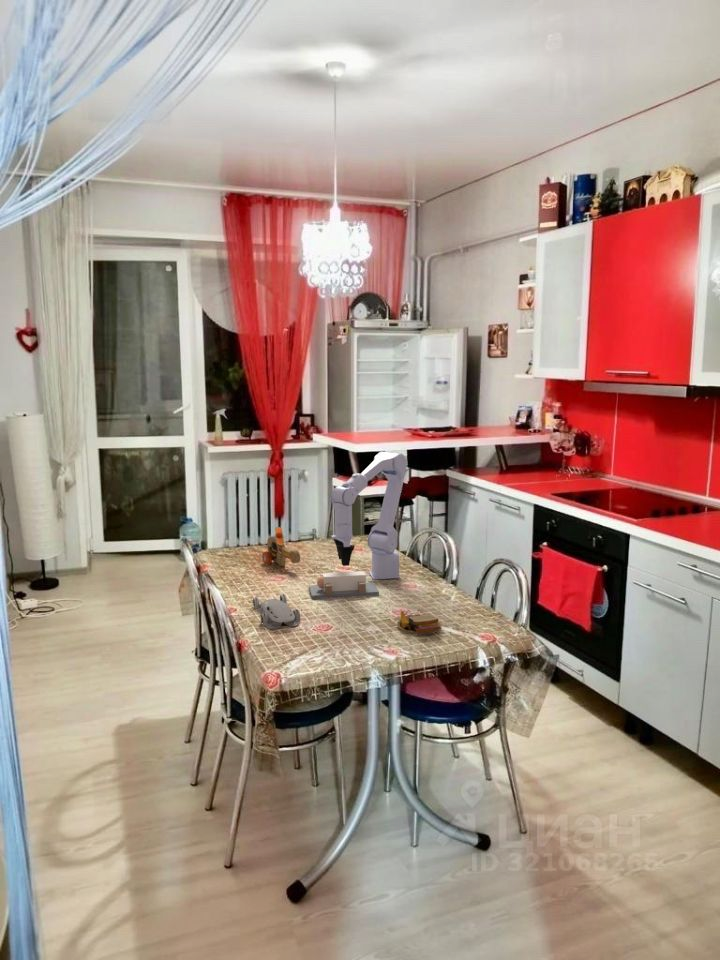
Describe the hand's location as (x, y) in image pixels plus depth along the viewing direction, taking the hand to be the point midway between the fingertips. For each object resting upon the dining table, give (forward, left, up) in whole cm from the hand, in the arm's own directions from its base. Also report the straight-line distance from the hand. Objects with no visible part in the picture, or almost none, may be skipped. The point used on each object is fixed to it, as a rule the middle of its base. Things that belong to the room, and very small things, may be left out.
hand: (343, 562), depth 241 cm
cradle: (+1, +4, -9) cm, 10 cm away
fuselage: (+1, +4, -8) cm, 9 cm away
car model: (+24, +22, -10) cm, 34 cm away
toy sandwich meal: (-17, +38, -10) cm, 43 cm away
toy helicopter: (+19, -29, -10) cm, 36 cm away
